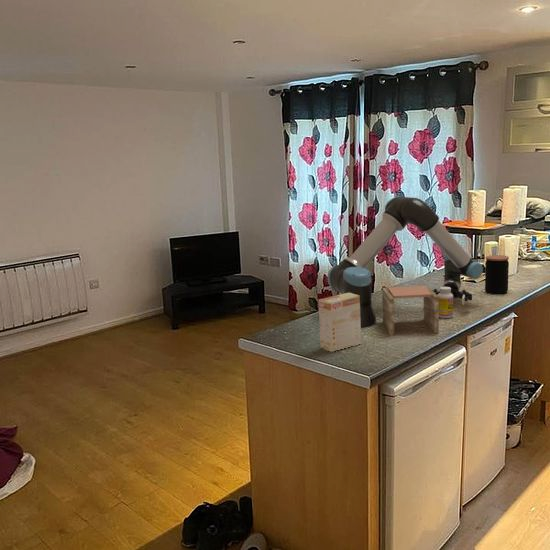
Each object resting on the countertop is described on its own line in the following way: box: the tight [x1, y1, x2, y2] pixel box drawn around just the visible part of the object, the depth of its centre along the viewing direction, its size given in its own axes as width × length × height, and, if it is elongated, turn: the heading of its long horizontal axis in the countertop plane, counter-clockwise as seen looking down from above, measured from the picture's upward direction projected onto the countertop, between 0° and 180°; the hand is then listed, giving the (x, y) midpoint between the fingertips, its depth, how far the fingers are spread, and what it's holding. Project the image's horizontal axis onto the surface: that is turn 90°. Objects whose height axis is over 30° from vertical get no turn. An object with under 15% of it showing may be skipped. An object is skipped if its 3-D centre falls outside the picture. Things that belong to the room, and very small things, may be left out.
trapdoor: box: [386, 285, 432, 299], centre depth 227 cm, size 15×16×1 cm
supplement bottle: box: [437, 286, 454, 319], centre depth 240 cm, size 7×7×13 cm
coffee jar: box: [484, 254, 510, 295], centre depth 274 cm, size 11×11×18 cm
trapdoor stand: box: [381, 285, 440, 336], centre depth 228 cm, size 19×20×15 cm
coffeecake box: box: [318, 293, 362, 351], centre depth 209 cm, size 15×7×20 cm, turn 123°
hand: (446, 300), depth 241 cm, fingers open, 13 cm apart
